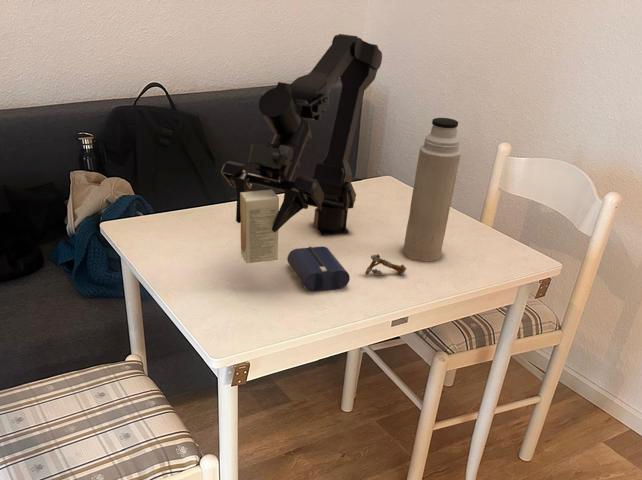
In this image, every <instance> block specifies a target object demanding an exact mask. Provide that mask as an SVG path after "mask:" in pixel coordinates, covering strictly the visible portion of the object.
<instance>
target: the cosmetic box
mask: <svg viewBox="0 0 642 480" xmlns="http://www.w3.org/2000/svg"><path fill="white" fill-rule="evenodd" d="M279 210H280V197H279V196H278V195H277V193H276V192H275V191H274V189H271V188H269V189H261V190H260V189H259V190H252V191H250V192H240V223H239V224H240V255H241V257H242V259H243V261H244V262H245V264H247V265H249V264H255V263H264V262H272V261H277V260H278V259H279V229H278V230H277V231H276V232H273V231H272V227H273V224H274V221H275V219H276V216H277V214H278V212H279Z"/></svg>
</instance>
